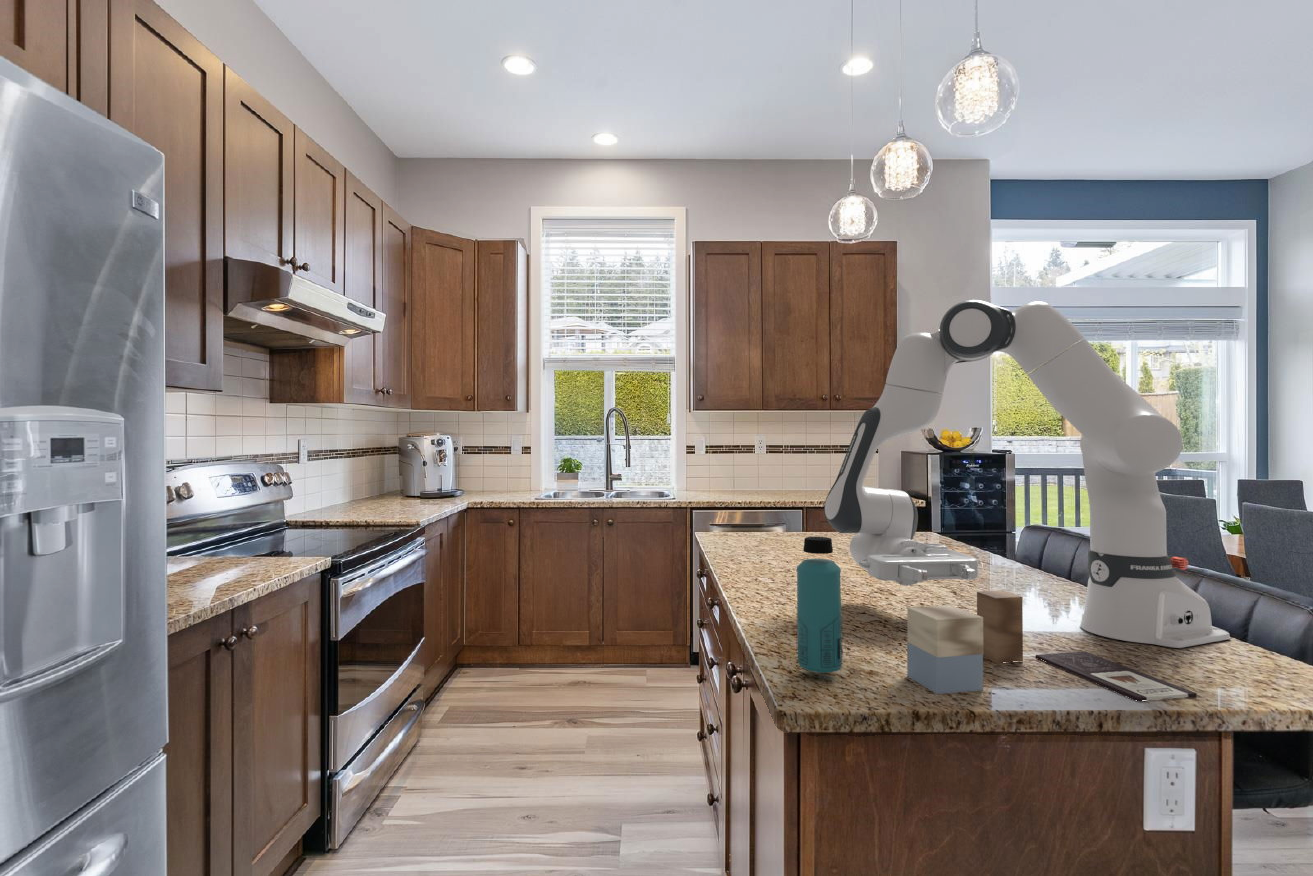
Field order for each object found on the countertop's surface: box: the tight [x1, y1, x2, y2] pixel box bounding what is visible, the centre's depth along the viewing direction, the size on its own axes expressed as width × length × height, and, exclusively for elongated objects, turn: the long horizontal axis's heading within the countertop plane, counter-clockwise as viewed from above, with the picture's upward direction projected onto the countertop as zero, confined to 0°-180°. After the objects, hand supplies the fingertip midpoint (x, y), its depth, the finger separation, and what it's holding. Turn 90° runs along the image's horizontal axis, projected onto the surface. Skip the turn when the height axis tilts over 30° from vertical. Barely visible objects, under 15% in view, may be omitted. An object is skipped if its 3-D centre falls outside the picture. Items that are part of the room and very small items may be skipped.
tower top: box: [906, 604, 983, 657], centre depth 93 cm, size 7×7×5 cm
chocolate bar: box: [1035, 651, 1198, 702], centre depth 95 cm, size 9×1×18 cm
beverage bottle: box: [795, 536, 844, 674], centre depth 96 cm, size 6×7×20 cm
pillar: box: [976, 590, 1024, 665], centre depth 103 cm, size 4×4×10 cm
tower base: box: [906, 641, 984, 695], centre depth 93 cm, size 7×7×5 cm
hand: (947, 575), depth 115 cm, fingers open, 8 cm apart
